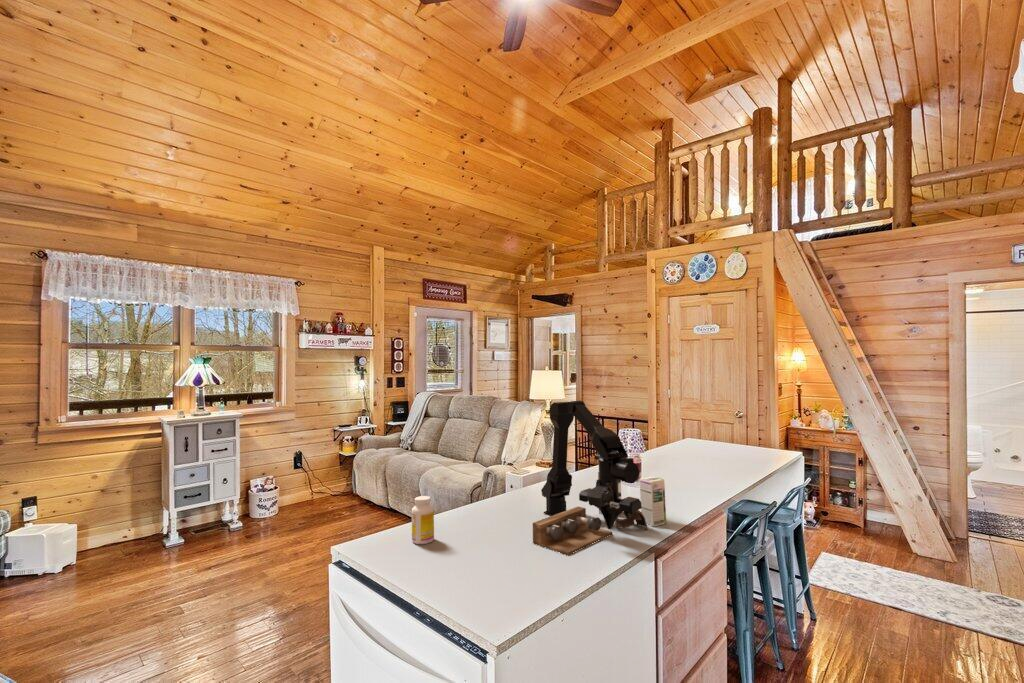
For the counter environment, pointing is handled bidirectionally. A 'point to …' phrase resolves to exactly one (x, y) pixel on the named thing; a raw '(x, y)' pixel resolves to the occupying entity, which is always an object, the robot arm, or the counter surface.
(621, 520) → the pottery mug
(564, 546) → the panel
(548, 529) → the knob near
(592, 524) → the knob far
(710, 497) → the counter surface
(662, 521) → the syrup box
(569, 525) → the knob middle
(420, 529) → the supplement bottle
